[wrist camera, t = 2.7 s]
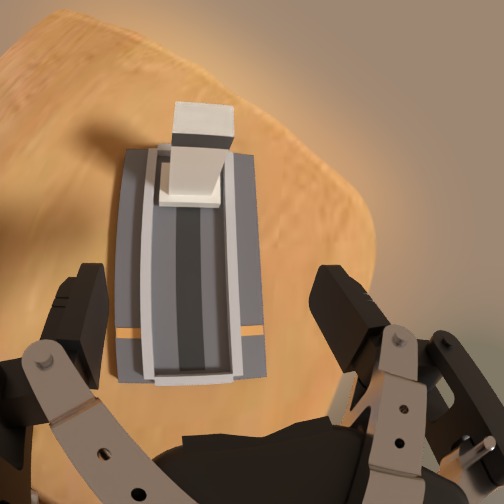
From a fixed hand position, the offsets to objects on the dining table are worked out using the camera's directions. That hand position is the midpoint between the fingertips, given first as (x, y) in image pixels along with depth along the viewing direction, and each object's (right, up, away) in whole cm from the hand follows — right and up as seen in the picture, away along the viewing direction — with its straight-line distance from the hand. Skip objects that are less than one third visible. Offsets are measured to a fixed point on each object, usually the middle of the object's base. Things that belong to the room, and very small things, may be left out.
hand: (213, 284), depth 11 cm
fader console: (-4, +1, +14) cm, 15 cm away
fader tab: (-4, +7, +14) cm, 16 cm away
